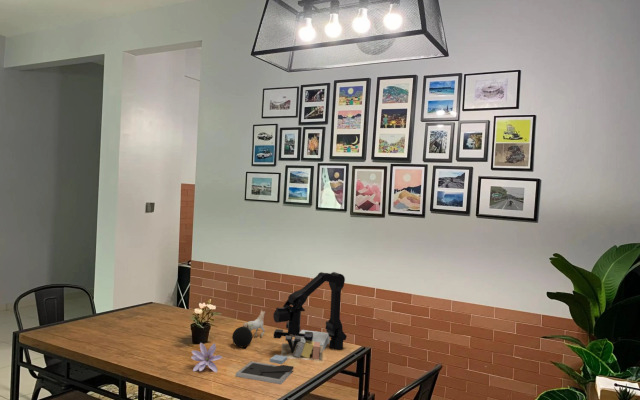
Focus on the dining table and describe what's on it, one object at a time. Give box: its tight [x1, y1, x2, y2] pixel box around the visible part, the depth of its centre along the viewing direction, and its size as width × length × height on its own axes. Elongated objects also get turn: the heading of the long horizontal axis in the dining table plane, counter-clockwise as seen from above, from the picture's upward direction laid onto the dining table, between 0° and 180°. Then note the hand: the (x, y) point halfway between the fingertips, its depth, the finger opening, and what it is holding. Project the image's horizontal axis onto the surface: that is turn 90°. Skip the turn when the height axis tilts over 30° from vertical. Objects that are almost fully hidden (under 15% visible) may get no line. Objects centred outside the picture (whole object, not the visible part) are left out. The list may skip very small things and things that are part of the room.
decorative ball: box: [231, 326, 253, 348], centre depth 246 cm, size 10×10×10 cm
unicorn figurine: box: [242, 308, 266, 339], centre depth 261 cm, size 7×20×13 cm, turn 153°
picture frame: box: [235, 360, 295, 385], centre depth 212 cm, size 16×3×21 cm
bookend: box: [294, 342, 305, 358], centre depth 233 cm, size 3×6×5 cm, turn 178°
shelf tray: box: [280, 343, 324, 362], centre depth 234 cm, size 20×10×5 cm, turn 88°
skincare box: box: [292, 329, 331, 352], centre depth 252 cm, size 21×5×16 cm
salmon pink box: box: [313, 342, 320, 359], centre depth 233 cm, size 3×7×6 cm, turn 178°
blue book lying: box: [269, 354, 288, 365], centre depth 225 cm, size 6×6×3 cm
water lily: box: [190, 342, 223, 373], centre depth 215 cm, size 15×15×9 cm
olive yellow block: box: [301, 341, 314, 358], centre depth 233 cm, size 4×6×6 cm, turn 178°
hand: (292, 352), depth 234 cm, fingers closed
